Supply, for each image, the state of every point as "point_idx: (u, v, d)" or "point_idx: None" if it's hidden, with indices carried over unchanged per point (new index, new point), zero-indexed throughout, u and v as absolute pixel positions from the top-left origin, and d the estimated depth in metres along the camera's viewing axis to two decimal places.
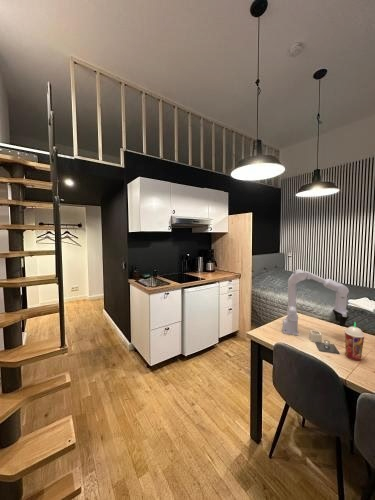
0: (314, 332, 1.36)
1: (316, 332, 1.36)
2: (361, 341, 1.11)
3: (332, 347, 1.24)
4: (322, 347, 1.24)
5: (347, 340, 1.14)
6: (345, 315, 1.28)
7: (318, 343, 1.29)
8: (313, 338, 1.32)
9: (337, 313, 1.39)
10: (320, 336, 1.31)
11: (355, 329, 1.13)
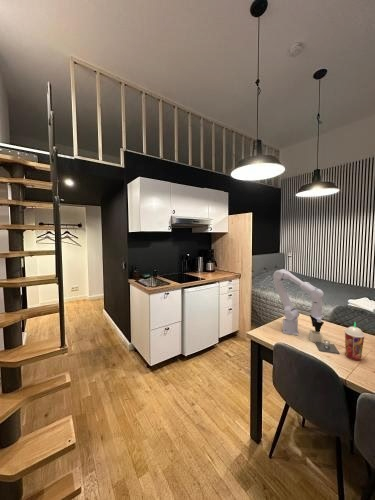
0: (314, 332, 1.36)
1: (316, 332, 1.36)
2: (361, 341, 1.11)
3: (332, 347, 1.24)
4: (322, 347, 1.24)
5: (347, 340, 1.14)
6: (320, 320, 1.26)
7: (318, 343, 1.29)
8: (313, 338, 1.32)
9: (314, 318, 1.37)
10: (320, 336, 1.31)
11: (355, 329, 1.13)
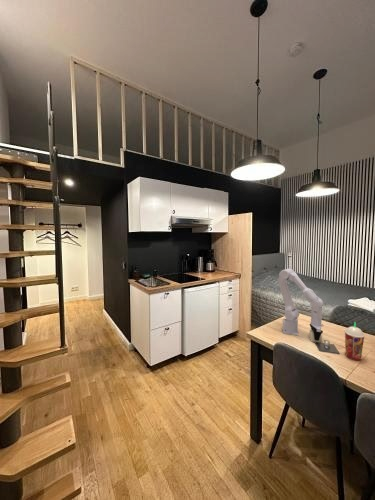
0: None
1: None
2: (361, 341, 1.11)
3: (332, 347, 1.24)
4: (322, 347, 1.24)
5: (347, 340, 1.14)
6: (319, 330, 1.27)
7: (318, 343, 1.29)
8: (313, 338, 1.32)
9: (313, 327, 1.37)
10: (320, 336, 1.31)
11: (355, 329, 1.13)
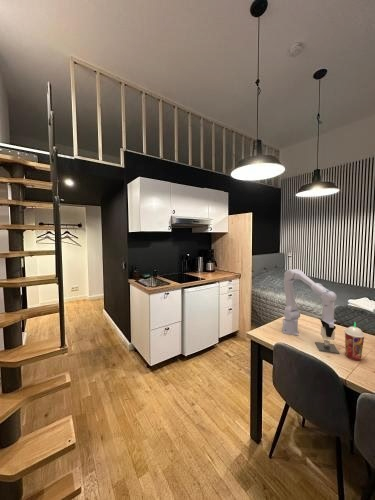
0: None
1: None
2: (361, 341, 1.11)
3: (332, 347, 1.24)
4: (322, 347, 1.24)
5: (347, 340, 1.14)
6: (332, 326, 1.17)
7: (318, 343, 1.29)
8: (325, 335, 1.22)
9: (325, 323, 1.27)
10: (333, 333, 1.21)
11: (355, 329, 1.13)
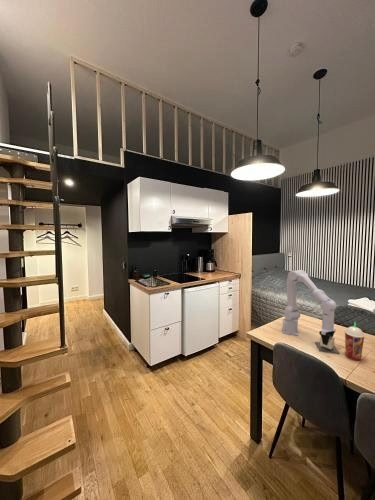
0: None
1: (330, 338, 1.25)
2: (361, 341, 1.11)
3: None
4: (322, 347, 1.24)
5: (347, 340, 1.14)
6: (323, 333, 1.19)
7: (318, 343, 1.29)
8: (322, 342, 1.24)
9: (328, 332, 1.26)
10: (329, 341, 1.21)
11: (355, 329, 1.13)
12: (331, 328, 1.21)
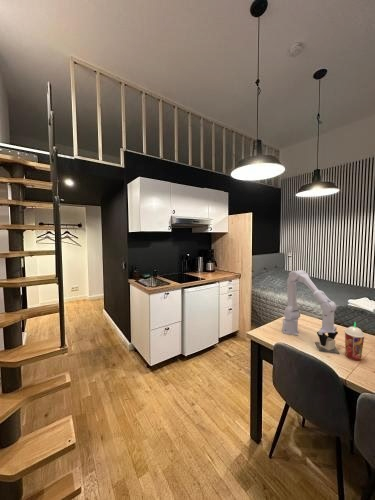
0: (329, 339, 1.25)
1: (331, 340, 1.24)
2: (361, 341, 1.11)
3: None
4: (322, 347, 1.24)
5: (347, 340, 1.14)
6: (320, 333, 1.20)
7: (318, 343, 1.29)
8: None
9: (330, 333, 1.26)
10: (328, 343, 1.21)
11: (355, 329, 1.13)
12: (330, 329, 1.21)
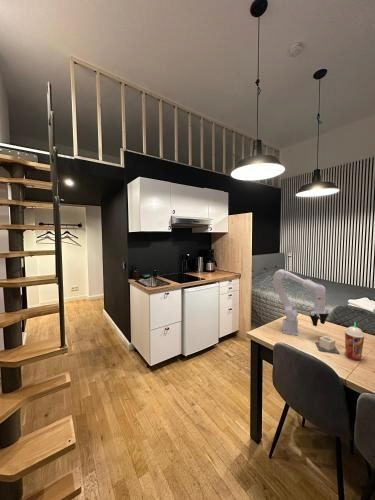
0: (329, 339, 1.25)
1: (331, 340, 1.24)
2: (361, 341, 1.11)
3: None
4: (322, 347, 1.24)
5: (347, 340, 1.14)
6: (312, 314, 1.32)
7: (318, 343, 1.29)
8: (321, 343, 1.25)
9: (321, 315, 1.37)
10: (328, 343, 1.21)
11: (355, 329, 1.13)
12: (321, 311, 1.32)
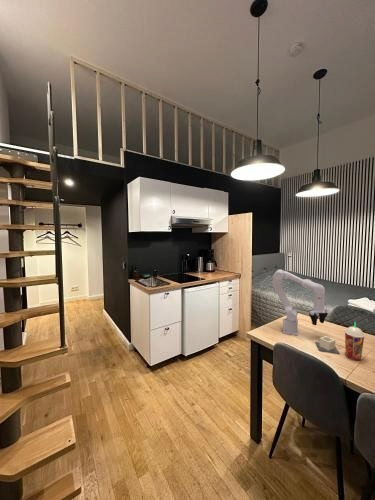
0: (329, 339, 1.25)
1: (331, 340, 1.24)
2: (361, 341, 1.11)
3: None
4: (322, 347, 1.24)
5: (347, 340, 1.14)
6: (311, 313, 1.33)
7: (318, 343, 1.29)
8: (321, 343, 1.25)
9: (321, 314, 1.39)
10: (328, 343, 1.21)
11: (355, 329, 1.13)
12: (320, 310, 1.33)
